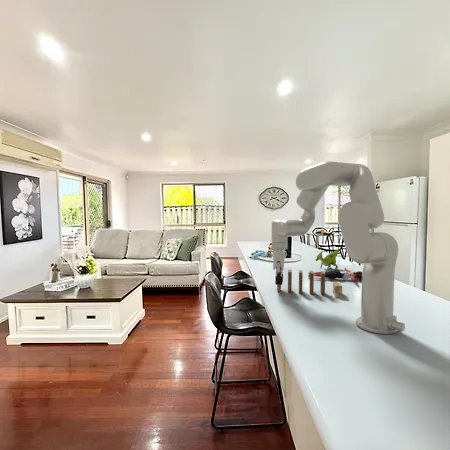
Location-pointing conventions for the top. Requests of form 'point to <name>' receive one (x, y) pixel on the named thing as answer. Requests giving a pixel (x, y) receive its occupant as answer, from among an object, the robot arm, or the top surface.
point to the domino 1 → (279, 286)
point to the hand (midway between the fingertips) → (279, 282)
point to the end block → (337, 289)
